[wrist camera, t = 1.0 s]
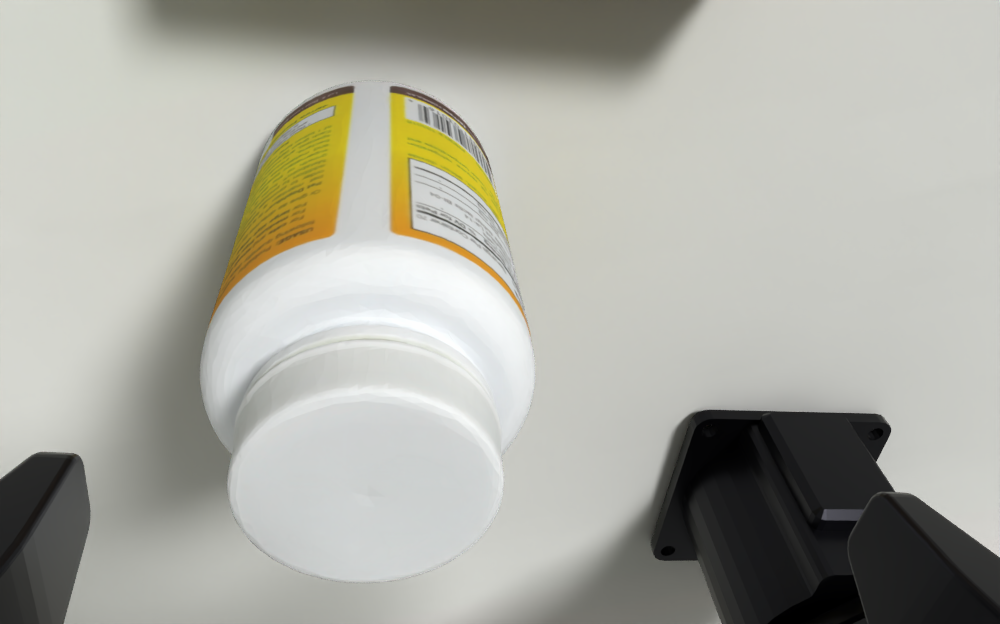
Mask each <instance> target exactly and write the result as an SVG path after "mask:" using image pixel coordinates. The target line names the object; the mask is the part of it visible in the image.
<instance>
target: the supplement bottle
mask: <svg viewBox="0 0 1000 624" xmlns="http://www.w3.org/2000/svg"><path fill="white" fill-rule="evenodd" d="M200 385H201V393H202V398H203V403H204V407H205V410H206V412H207V415H208V418H209V421H210V423H211V425H212V427H213V429H214V431H215V433H216V434H217V436H218V438H219V439H220V441H221V442H222V443H223V445H224V446H225V447H226V449H227V450H228V451H229V452H230V453H231V459H230V464H229V469H228V476H227V492H228V498H229V503H230V507H231V510H232V513H233V515H234V518H235V520H236V522H237V523H238V525H239V527H240V528H241V530H242V531H243V532H244V534H245V535H246V536H247V538H248V539H249V540H250V541H251V542H252V543H253V544H254V545H255V546H256V547H257V548H258V549H260V550H261V551H262V552H264V553H265V554H266V555H268V556H269V557H271V558H272V559H274V560H275V561H277V562H279V563H281V564H283V565H285V566H287V567H289V568H292V569H294V570H296V571H298V572H301V573H304V574H308V575H311V576H315V577H318V578H321V579H327V580H332V581H338V582H354V583H376V582H387V581H395V580H400V579H405V578H409V577H413V576H416V575H420V574H423V573H426V572H428V571H431V570H434V569H436V568H438V567H440V566H443V565H445V564H447V563H448V562H450V561H452V560H454V559H455V558H456V557H458V556H459V555H461V554H462V553H464V552H466V551H467V550H468V549H469V548H470V547H472V546H473V545H474V544H475V543H476V542H477V541H478V540H479V539H480V538H481V537H482V536H483V534H484V533H485V532H486V531H487V529H488V528H489V526H490V525H491V523H492V522H493V520H494V518H495V516H496V515H497V512H498V510H499V507H500V503H501V500H502V495H503V488H504V470H503V461H502V455H503V454H504V453H505V452H506V450H507V449H508V448H509V446H510V445H511V443H512V442H513V441H514V439H515V438H516V437H517V435H518V433H519V431H520V429H521V427H522V425H523V423H524V421H525V419H526V417H527V415H528V412H529V409H530V406H531V401H532V397H533V393H534V386H535V359H534V352H533V346H532V340H531V335H530V330H529V327H528V322H527V318H526V314H525V309H524V305H523V302H522V297H521V293H520V289H519V285H518V280H517V276H516V272H515V268H514V263H513V259H512V255H511V251H510V246H509V242H508V238H507V234H506V229H505V225H504V221H503V217H502V213H501V209H500V204H499V200H498V196H497V192H496V188H495V184H494V180H493V175H492V171H491V168H490V165H489V161H488V158H487V156H486V153H485V151H484V149H483V147H482V145H481V143H480V141H479V140H478V138H477V136H476V135H475V133H474V132H473V130H472V129H471V128H470V126H469V125H468V124H467V123H466V122H465V121H464V119H463V118H462V117H461V116H460V115H458V114H457V113H456V112H455V111H454V110H453V109H452V108H450V107H449V106H448V105H446V104H445V103H444V102H442V101H441V100H439V99H437V98H435V97H434V96H432V95H430V94H428V93H426V92H424V91H421V90H419V89H416V88H413V87H410V86H407V85H403V84H399V83H394V82H386V81H358V82H351V83H345V84H341V85H338V86H334V87H331V88H328V89H326V90H323V91H321V92H319V93H317V94H315V95H313V96H311V97H310V98H308V99H306V100H305V101H303V102H302V103H301V104H299V105H298V106H297V107H295V108H294V109H293V110H292V111H290V112H289V113H288V114H287V115H286V116H285V117H284V119H283V120H282V121H281V122H280V123H279V124H278V126H277V127H276V129H275V130H274V132H273V133H272V134H271V136H270V138H269V140H268V142H267V144H266V146H265V148H264V151H263V153H262V156H261V159H260V162H259V165H258V169H257V172H256V175H255V178H254V182H253V185H252V188H251V191H250V195H249V198H248V201H247V204H246V207H245V211H244V214H243V217H242V220H241V223H240V227H239V231H238V234H237V237H236V240H235V243H234V247H233V250H232V253H231V256H230V260H229V263H228V266H227V269H226V272H225V276H224V279H223V282H222V285H221V288H220V291H219V295H218V298H217V301H216V304H215V307H214V310H213V313H212V317H211V320H210V323H209V326H208V329H207V333H206V336H205V341H204V346H203V351H202V355H201V364H200Z"/></svg>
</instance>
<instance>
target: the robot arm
mask: <svg viewBox="0 0 1000 624" xmlns="http://www.w3.org/2000/svg"><path fill="white" fill-rule="evenodd" d="M707 425H711V426H710V427H708V428H704V427H706V426H707ZM890 433H891V428H890V425H889V424H888V423H887V421H886V420H885V418H884V417H882V416H881V415H878V414H860V413H818V412H776V411H735V410H705V411H702V412H699V413H697V414H696V415H695V416H694V417H693V418H692V420H691V421H690V424H689V427H688V430H687V433H686V436H685V439H684V442H683V445H682V448H681V451H680V454H679V457H678V460H677V463H676V467H675V470H674V473H673V476H672V479H671V482H670V485H669V488H668V491H667V494H666V497H665V500H664V503H663V506H662V509H661V512H660V515H659V518H658V522H657V525H656V528H655V531H654V534H653V537H652V540H651V548H652V551H653V554H654V556H655V558H657V559H659V560H664V561H674V560H698V561H699V563H700V566H701V569H702V571H703V574H704V577H705V580H706V582H707V585H708V588H709V590H710V593H711V596H712V599H713V601H714V604H715V607H716V610H717V612H718V615H719V618H720V620H721V623H722V624H1000V557H998V556H997V555H995V554H994V553H993V552H991V551H990V550H989V549H987V548H986V547H984V546H983V545H982V544H980V543H979V542H978V541H976V540H975V539H974V538H972V537H971V536H969V535H968V534H967V533H965V532H964V531H963V530H961V529H960V528H958V527H957V526H956V525H954V524H953V523H952V522H950V521H949V520H947V519H946V518H945V517H943V516H942V515H941V514H939V513H938V512H936V511H935V510H934V509H932V508H931V507H930V506H928V505H927V504H925V503H924V502H923V501H921V500H920V499H919V498H917V497H916V496H914V495H912V494H909V493H900V492H895V490H894V489H893V487H892V486H891V484H890V483H889V481H888V480H887V478H886V477H885V475H884V474H883V472H882V471H881V469H880V468H879V466H878V465H877V463H876V461H877V459H878V457H879V455H880V453H881V451H882V449H883V447H884V445H885V444H886V442H887V440H888V438H889V436H890ZM89 525H90V503H89V497H88V490H87V484H86V477H85V471H84V465H83V462H82V459H81V458H80V456H78V455H77V454H74V453H57V452H39V453H36V454H34V455H32V456H30V457H29V458H27V459H26V460H25V461H23V462H22V463H21V464H19V465H18V466H17V467H16V468H14V469H13V470H12V471H10V472H9V473H8V474H6V475H5V476H4V477H3V478H1V479H0V624H64V620H65V616H66V612H67V609H68V605H69V601H70V598H71V594H72V590H73V586H74V583H75V579H76V575H77V572H78V568H79V564H80V560H81V557H82V553H83V549H84V546H85V542H86V538H87V534H88V530H89Z"/></svg>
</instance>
